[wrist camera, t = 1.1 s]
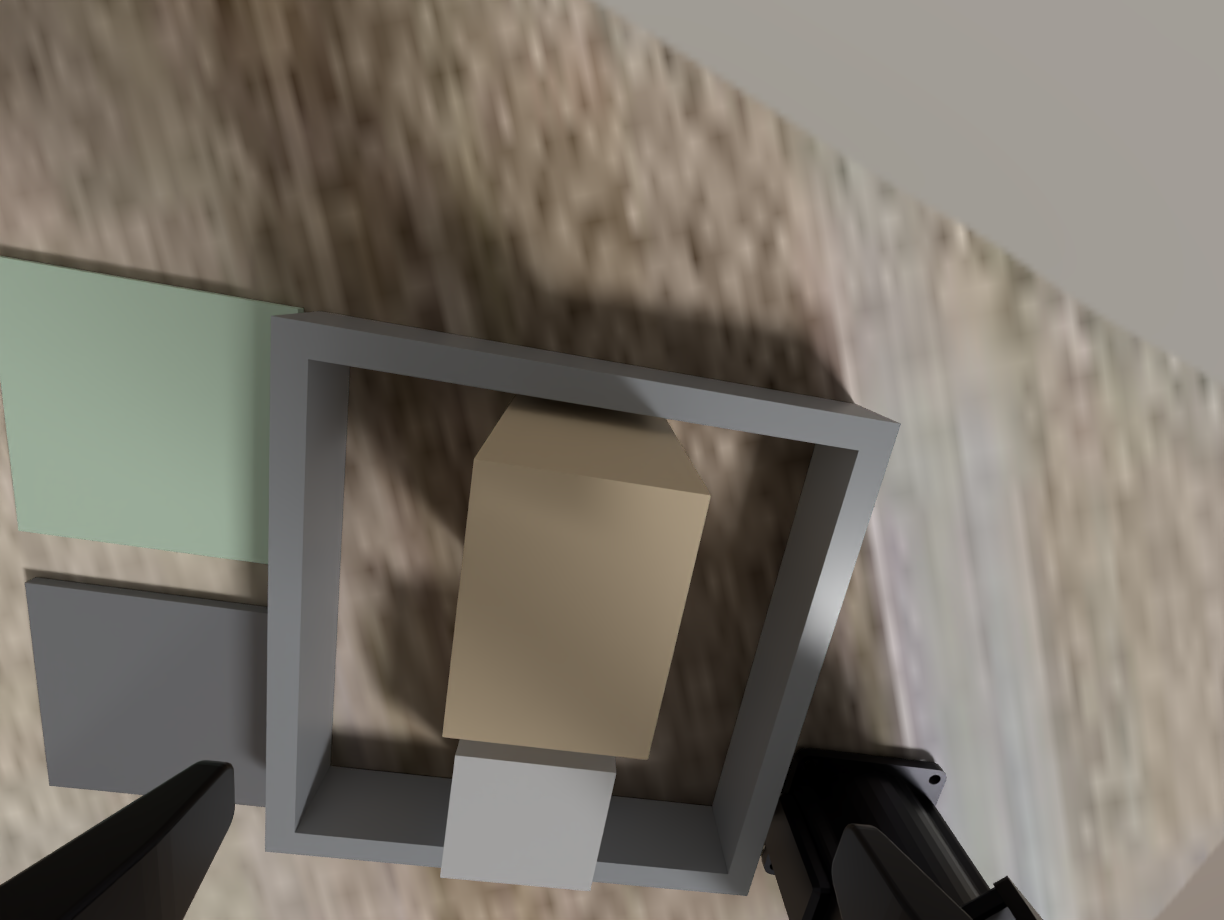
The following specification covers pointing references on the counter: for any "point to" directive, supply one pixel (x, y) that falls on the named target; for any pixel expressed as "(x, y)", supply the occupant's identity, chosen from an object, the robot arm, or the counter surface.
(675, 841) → the grey bin
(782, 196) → the counter surface
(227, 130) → the counter surface
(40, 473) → the green mat
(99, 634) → the slate coaster
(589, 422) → the kraft box
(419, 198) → the counter surface
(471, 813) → the grey box
